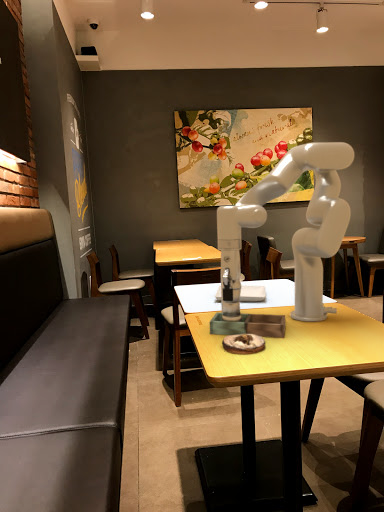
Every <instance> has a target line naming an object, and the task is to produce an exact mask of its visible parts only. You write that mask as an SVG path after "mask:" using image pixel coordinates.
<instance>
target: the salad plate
mask: <svg viewBox="0 0 384 512" xmlns="http://www.w3.org/2000/svg"><path fill="white" fill-rule="evenodd" d="M266 297H267V295H266V287H265V285H241V294H240V303H241V302H245V303H246V302H251V303H252V302H253V303H255V302H261V301H263V300H265V299H266ZM214 298H215V299H216V300H218V301H220V302H221V285H219V286H218V288H217V291H216V293H215V295H214Z"/></svg>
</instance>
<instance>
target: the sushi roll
mask: <svg viewBox="0 0 384 512" xmlns="http://www.w3.org/2000/svg"><path fill="white" fill-rule="evenodd" d="M221 344H222V348H224V349H225V350H224V352H226V353H232V354H235V355H252V354H257V353H260V352H263V351H264V350H265V349H266V340H265V338H264V337H261V336H257V335H255V334H238V335H225V337H224V338H223V339H222V341H221Z"/></svg>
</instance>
